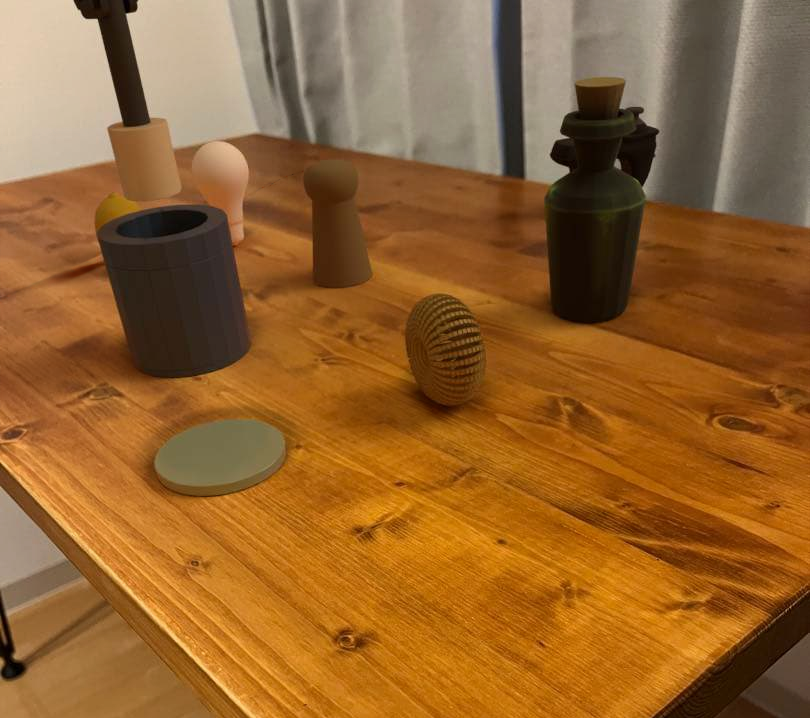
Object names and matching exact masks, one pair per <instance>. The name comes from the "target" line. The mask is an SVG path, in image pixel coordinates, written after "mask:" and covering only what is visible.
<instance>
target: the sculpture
mask: <svg viewBox="0 0 810 718" xmlns="http://www.w3.org/2000/svg"><path fill="white" fill-rule="evenodd" d="M447 341H448V342H447ZM483 341H484V338H483V335H482V331H481V328H480V325H479V323H478V322H477V319H476V317H475V316H474V314H473V313H472V311H471V310H470V308H469V307H468V306H467V305H466V304H465V303H464V302H463V301H462V300H461V299H459V298H457V297H455V296H454V295H451V294H447V293H440V292H439V293H433V294H429V295H426V296H424V297H422V298H421V299H420V300H419V301H417V302H416V303H415V305H413V307H412V308H411V310H410V312H409V314H408V317H407V320H406V324H405V332H404V342H405V352H406V356H407V359H408V365H409V367H410V370H411V373H412V376H413V377H414V380H415V382H416V383H417V385H418V387H419V388H420V389H421V392H422V393H424V395H425V396H426V397H427V398H429V399H430V400H431V401H432V402H434V403H437V404H439V405H442V406H452V407H453V406H457V405H458V406H459V405H462V404H465V403H467V402H468V401H469V400H471V399H472V398H473V397H475V395H476V394H477V392H479V390H480V388H481V386H482V384H483V381H484V377H485V374H486V365H487V364H486V363H487V358H486V349H485V342H483Z"/></svg>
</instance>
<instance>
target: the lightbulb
mask: <svg viewBox="0 0 810 718" xmlns="http://www.w3.org/2000/svg"><path fill="white" fill-rule="evenodd" d="M190 168H191V179H192V181H193V182H194V186H195V187H196V189H197V190H198V192H199V194H201V195H202V197H203V198H204V199H205V201H206V202H207V204H208V206H213V207H216V208H219V209H222V210H223V211H224V212H225V213H226V215H227V219H228V224H229V229H230V234H231V239H232V244H233V247H236V246H238V245H239V243H240V242H242V241H243V240H244V238H245V235H244V234H245V233H244V225H243V220H244V212H243V203H244V197H245V193H246V190H247V187H248V183H249V179H250V169H249V165H248V162H247V160H246V157H245V156H244V154H243V153H242V152H241V151H240V150H239V149H238V148H237V147H236V146H235V145H232V144H231V143H229V142H226V141H220V140H215V141H210V142H208V143H205V144H203V145H202V146H201V147H200V148H199V149H198V150H197V151H196V152H195V154H194V156H193V158H192V161H191V167H190Z"/></svg>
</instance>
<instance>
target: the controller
mask: <svg viewBox="0 0 810 718" xmlns="http://www.w3.org/2000/svg"><path fill="white" fill-rule="evenodd" d="M624 109H625V110H629V111H631V112H632V113H633V115H634V119H635V124H636V128H637V129H636V130H635V131H634V132H632V133H630V134H628V135H626V136H624V137H622V141H621V144H620V147H619V151H618V154H617V157H616V160H618V161H619V165H620V170H622V171H623V172H625V173H627V174H628V175H630V176H632V177H633V178H635V179H636V180H637V181H638V182H639V183H640V184H641V187H642V188H643V187H644V185H645V183H647V180H648V178H649V175H650V173H651V169H652V165H653V161H654V158H655V157H656V150H657V147H658V144H657V143H658V142H657V136H658V135H659V134H660V130H659V129H658V128H656V127H655V126H650V125H648V124H647V123H646V122H645V121H643V119H642V118H640V115H642V114H644V112H645V109H644V107H643V106H628V107H626V108H624ZM550 151H551V152H549V158H550V159H551V160H552V161H553V162H554V163H556V164H557V165H560V166H562V167H566V168H568V169H569V173H570V172H571V171H573V170H574V169H576V168H578V163H577V158H576V154H575V149H574V144H573V139H571V138H569V137H567V138H561V139H556V140H555V142H554V143H553V145H552V148H551V150H550Z"/></svg>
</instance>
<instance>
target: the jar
mask: <svg viewBox="0 0 810 718" xmlns="http://www.w3.org/2000/svg"><path fill="white" fill-rule="evenodd" d="M97 238H98V239H97ZM96 239H97V242H98V241H99V242H98V245H99V248H100V251H101V255H102V258H103V262H104V266H105V269H106V273H107V276H108V281H109V284H110V287H111V290H112V291H111V292H112V294H113V298H114V301H115V304H116V305H115V306H116V308H117V312H118V315H119V319H120V322H121V327H122V330H123V332H124V337H125V340H126V344H127V347H128V351H129V355H130V357H131V361H132V364H133V366H134V367H135V368H136V370H137V371H139V372H141V373H143V374H144V375H148V376H151V377H157V378H158V377H159V378H184V377H185V378H186V377H192V376H199V375H203V374H208V373H211V372H215V371H218V370H221V369H223V368H226V367H228V366H230V365H232V364H234V363H236V362H237V361H239V360H240V359H242V358H243V357H244V356H245V355H246V354H247V353H248V352H249V350H250V348H251V345H252V342H251V333H250V328H249V327H250V326H249V322H248V316H247V313H246V312H247V311H246V308H245V303H244V302H245V301H244V296H243V292H242V287H241V282H240V276H239V270H238V266H237V260H236V255H235V250H234V246H233V244H232V239H231V234H230V229H229V224H228V219H227V215H226V213H225V212H224V211H223V210H222V209H219V208H216V207H213V206H210V205H207V204H206V205H205V204H197V203H195V204H172V205H164V206H156V207H150V208H145V209H141V211H137V212H133V213H130V214H126V215H124V216H121V217H119V218H116V219H113V220H111V221H109V222H108V223H106V224H105V225H103V226H101V227H100V229H99V230H98V232H97V236H96Z"/></svg>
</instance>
